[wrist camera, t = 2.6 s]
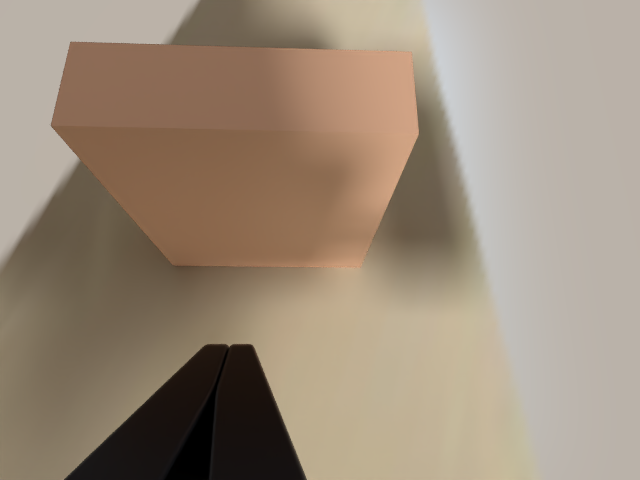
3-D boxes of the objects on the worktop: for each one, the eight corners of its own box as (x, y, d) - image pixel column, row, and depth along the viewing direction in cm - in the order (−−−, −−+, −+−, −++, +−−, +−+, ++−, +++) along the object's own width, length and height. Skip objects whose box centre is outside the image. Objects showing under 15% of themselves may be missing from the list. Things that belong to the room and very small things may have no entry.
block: (360, 267, 17) (419, 133, 9) (173, 265, 17) (50, 125, 9) (358, 215, 18) (411, 46, 10) (179, 212, 18) (72, 36, 9)
